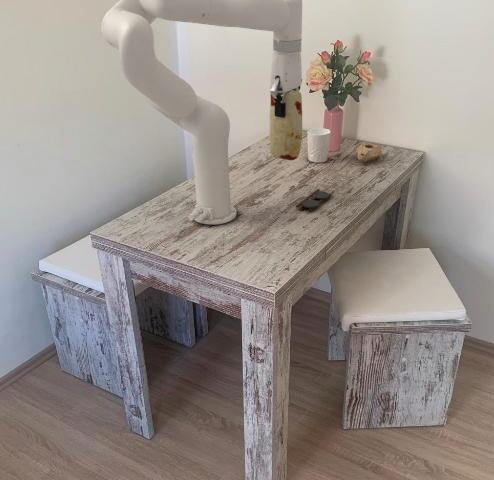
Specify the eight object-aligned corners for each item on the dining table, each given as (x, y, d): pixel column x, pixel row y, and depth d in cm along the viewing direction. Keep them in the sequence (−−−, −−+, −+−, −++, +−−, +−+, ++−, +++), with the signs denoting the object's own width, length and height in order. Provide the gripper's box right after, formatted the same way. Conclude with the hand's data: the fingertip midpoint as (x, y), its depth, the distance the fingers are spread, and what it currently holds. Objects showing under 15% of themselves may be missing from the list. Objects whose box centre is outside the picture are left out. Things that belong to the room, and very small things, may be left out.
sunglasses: (312, 213, 165) (312, 209, 164) (295, 209, 167) (295, 205, 167) (333, 196, 175) (333, 192, 174) (317, 192, 178) (317, 188, 177)
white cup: (327, 164, 198) (328, 135, 193) (305, 162, 200) (305, 134, 194) (330, 156, 205) (331, 128, 200) (308, 154, 206) (309, 127, 201)
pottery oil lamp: (348, 164, 197) (346, 143, 197) (364, 165, 207) (362, 145, 206) (371, 159, 192) (369, 138, 191) (386, 161, 202) (384, 140, 201)
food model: (266, 159, 169) (265, 89, 158) (274, 152, 174) (274, 84, 163) (297, 164, 166) (299, 92, 155) (305, 156, 171) (307, 87, 160)
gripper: (290, 40, 162) (290, 104, 171) (258, 50, 149) (259, 119, 158) (314, 42, 158) (312, 108, 168) (283, 53, 146) (282, 123, 155)
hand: (286, 113), depth 163 cm, fingers closed on food model, 6 cm apart
